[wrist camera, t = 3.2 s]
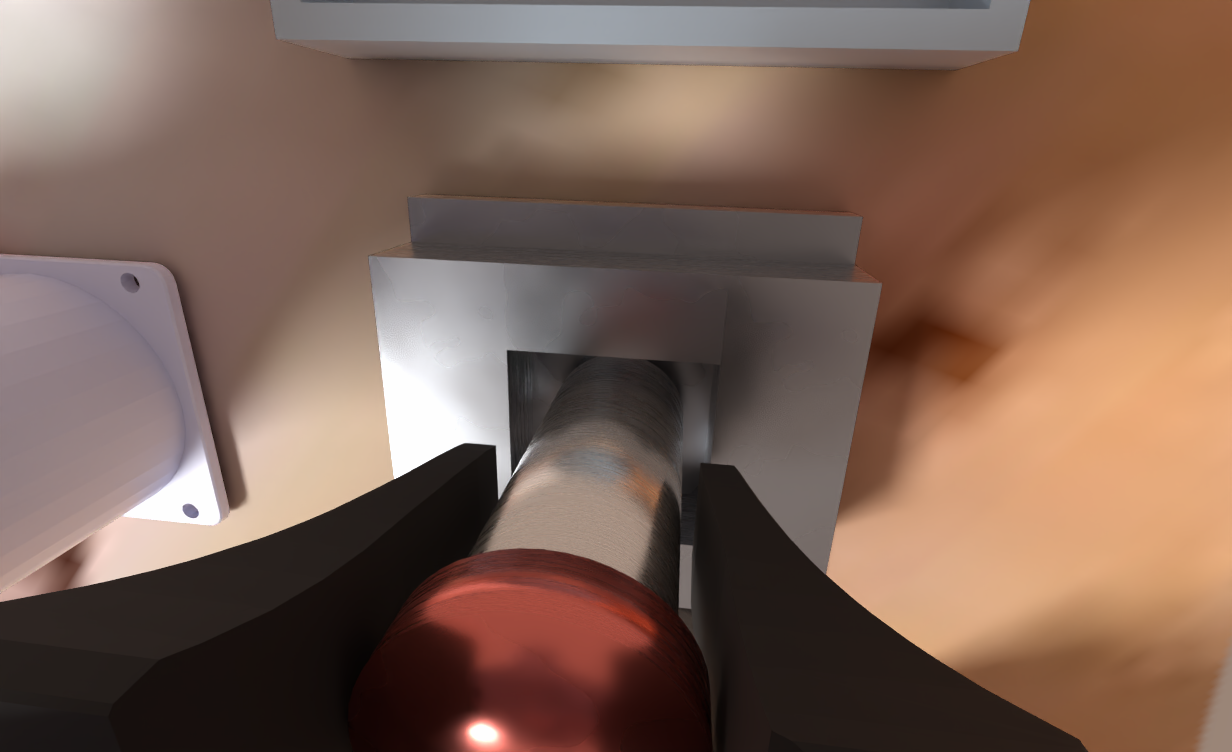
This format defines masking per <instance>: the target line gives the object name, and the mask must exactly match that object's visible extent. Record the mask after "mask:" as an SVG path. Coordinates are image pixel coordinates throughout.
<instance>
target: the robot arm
mask: <svg viewBox="0 0 1232 752" xmlns="http://www.w3.org/2000/svg"><path fill="white" fill-rule="evenodd" d="M134 276H135V277H136V278H137V280H138V282H139V286H138V285H137V284H136V283H135V281H134ZM498 501H499V500H498V479H497V457H496V445H486V444H474V443H463V444H461V445H458V446H456V447H454V448H452V449H450V450H448V451H446V452H444V453H442V454H440V455H438V456H436V457H434V458H433V459H431V460H429V461H427V462H425V463H423V464H422V465H420V466H418V467H416V468H414V469H412V470H410V471H409V472H407V473H405V474H403V475H401V476H399V477H397V478H395V479H394V480H392V481H390V482H388V483H386V484H384V485H382V486H380V487H378V488H376V489H374V490H372V491H370V492H368V493H366V494H364V495H362V496H360V497H358V498H356V499H354V500H352V501H350V502H347V503H345V504H343V505H341V506H339V507H337V508H335V509H333V510H331V511H328V512H326V513H324V514H322V515H319V516H317V517H315V518H312V519H310V520H307V521H305V522H303V523H300V524H297V525H295V526H292V527H290V528H287V529H284V530H282V531H279V532H277V533H274V534H271V535H269V536H266V537H263V538H260V539H257V540H254V541H251V542H248V543H245V544H242V545H238V546H235V547H232V548H229V549H226V550H223V551H220V552H216V553H213V554H210V555H207V556H204V557H201V558H198V559H194V560H191V561H187V562H183V563H180V564H176V565H172V566H168V567H165V568H161V569H157V570H153V571H149V572H145V573H141V574H137V575H133V576H128V577H124V578H120V579H116V580H112V581H107V582H102V583H98V584H93V585H89V586H84V587H79V588H73V589H68V590H63V591H57V592H52V593H47V594H41V595H36V596H31V597H25V598H20V599H14V600H9V601H4V602H0V752H353V749H352V745H351V742H350V738H349V729H348V709H349V702H350V698H351V694H352V690H353V687H354V685H355V683H356V681H357V679H358V677H359V675H360V673H361V671H362V670H363V668H364V666H365V665H366V663H367V662H368V660H369V658H370V657H371V655H372V654H373V652H374V651H375V649H376V647H377V646H378V644H379V643H380V641H381V639H382V638H383V636H384V635H385V633H386V632H387V630H388V628H389V627H390V625H391V624H392V622H393V620H394V619H395V617H396V616H397V614H398V613H399V611H400V609H401V608H402V606H403V605H404V603H405V602H406V601H407V599H408V598H409V596H410V595H411V594H412V592H413V591H414V590H415V589H416V588H417V587H418V586H419V585H420V584H421V583H422V582H423V581H425V580H426V579H427V578H428V577H430V576H431V575H433V574H434V573H436V572H437V571H438V570H440V569H442V568H444V567H446V566H448V565H450V564H452V563H454V562H456V561H458V560H461V559H464V558H467V557H468V555H469V554H470V552H471V550H472V548H473V546H474V544H475V543H476V541H477V539H478V537H479V535H480V533H481V532H482V530H483V528H484V526H485V524H486V522H487V521H488V519H489V517H490V515H491V513H492V512H493V510H494V508H495V506H496V504H497V502H498ZM229 513H230V508H229V503H228V499H227V495H226V491H225V487H224V482H223V478H222V474H221V470H220V465H219V461H218V457H217V453H216V449H215V444H214V440H213V436H212V432H211V428H210V423H209V419H208V415H207V411H206V407H205V402H204V398H203V394H202V390H201V385H200V381H199V377H198V373H197V369H196V364H195V360H194V356H193V352H192V348H191V343H190V339H189V335H188V331H187V327H186V322H185V318H184V314H183V310H182V305H181V301H180V297H179V293H178V289H177V284H176V281H175V279H174V276H173V275H172V273H171V272H170V271H169V270H168V269H167V268H166V267H164V266H163V265H161V264H158V263H154V262H136V261H118V260H101V259H83V258H65V257H48V256H30V255H13V254H0V594H1V593H2V592H4V591H5V590H7V589H8V588H10V587H11V586H13V585H15V584H16V583H18V582H19V581H21V580H22V579H24V578H25V577H27V576H29V575H30V574H32V573H33V572H35V571H36V570H38V569H40V568H41V567H43V566H44V565H46V564H47V563H49V562H50V561H52V560H54V559H55V558H57V557H58V556H60V555H61V554H63V553H64V552H66V551H68V550H69V549H71V548H72V547H74V546H75V545H77V544H79V543H80V542H82V541H83V540H85V539H86V538H88V537H89V536H91V535H93V534H94V533H96V532H97V531H99V530H100V529H102V528H103V527H105V526H107V525H108V524H110V523H111V522H113V521H114V520H116V519H118V518H119V517H121V516H124V517H133V518H143V519H153V520H163V521H172V522H182V523H192V524H201V525H217V524H219V523H220V522H222V521H223V520H224V519H225V518H227V517H228V515H229ZM691 612H692V623H693V634H694V638H695V640H696V642H697V644H698V646H699V648H700V650H701V652H702V654H703V657H704V660H705V663H706V666H707V669H708V675H709V682H710V694H711V721H712V748H713V752H1088V751H1087V749H1086V748H1085V747H1084V745H1083V744H1082V743H1081V741H1080V740H1079V739H1077V738H1075V737H1073V736H1071V735H1069V734H1068V733H1066V732H1064V731H1062V730H1060V729H1058V728H1056V727H1055V726H1053V725H1051V724H1049V723H1047V722H1045V721H1043V720H1041V719H1040V718H1038V717H1036V716H1034V715H1032V714H1030V713H1028V712H1027V711H1025V710H1023V709H1021V708H1019V707H1017V706H1015V705H1013V704H1012V703H1010V702H1008V701H1006V700H1004V699H1002V698H1000V697H999V696H997V695H995V694H993V693H991V692H989V691H988V690H986V689H984V688H982V687H981V686H979V685H977V684H976V683H974V682H972V681H971V680H969V679H968V678H966V677H964V676H963V675H961V674H960V673H958V672H956V671H955V670H953V669H951V668H950V667H948V666H947V665H945V664H943V663H942V662H940V661H939V660H937V659H935V658H934V657H932V656H931V655H929V654H928V653H926V652H925V651H923V650H922V649H920V648H919V647H917V646H916V645H914V644H913V643H911V642H910V641H908V640H907V639H906V638H904V637H903V636H901V635H900V634H899V633H897V632H896V631H895V630H893V629H892V628H891V627H889V626H888V625H887V624H885V623H884V622H882V621H881V620H880V619H878V618H877V617H876V616H874V615H873V614H872V613H870V612H869V611H868V610H867V609H865V608H864V607H863V606H862V605H860V604H859V603H858V602H857V601H855V600H854V599H853V598H852V597H851V596H849V595H848V594H847V593H846V592H845V591H844V590H843V589H841V588H840V587H839V586H838V585H837V584H836V583H835V582H833V581H832V580H831V579H830V578H829V577H828V576H827V575H826V574H824V573H823V572H822V571H821V570H820V569H819V568H818V567H817V566H816V565H815V564H814V563H813V562H812V561H811V560H810V559H809V558H808V557H807V556H806V555H805V554H804V553H803V552H802V551H801V550H800V549H799V547H798V546H797V545H796V544H795V543H794V542H793V541H792V540H791V539H790V538H789V536H788V535H787V534H786V533H785V532H784V531H783V529H782V528H781V527H780V526H779V524H778V523H777V522H776V521H775V519H774V518H773V517H772V516H771V515H770V513H769V512H768V511H767V509H766V508H765V507H764V506H763V504H762V503H761V502H760V500H759V499H758V497H757V496H756V495H755V493H754V492H753V491H752V489H751V488H750V486H749V485H748V483H747V482H746V481H745V479H744V478H743V476H742V475H741V473H740V472H739V471H738V469H737V468H736V467H735V466H734V465H723V464H711V463H700V474H699V484H698V495H697V506H696V516H695V527H694V538H693V548H692V570H691Z"/></svg>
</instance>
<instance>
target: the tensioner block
mask: <svg viewBox="0 0 1232 752" xmlns="http://www.w3.org/2000/svg"><path fill="white" fill-rule="evenodd" d="M407 198H408V209H409V220H410V231H411V242H410V243H407V244H403V245H400V246H397V247H394V248H391V249H388V250H385V251H382V252H379V253H376V254H373V255H370V256H368V259H369V268H370V276H371V285H372V293H373V302H374V310H375V319H376V327H377V336H378V344H379V353H380V361H381V370H382V378H383V386H384V395H385V403H386V412H387V420H388V429H389V437H390V446H391V454H392V463H393V471H394V479H395V478H397V477H399V476H401V475H403V474H405V473H407V472H409V471H410V470H412V469H414V468H416V467H418V466H420V465H422V464H423V463H425V462H427V461H429V460H431V459H433V458H434V457H436V456H438V455H440V454H442V453H444V452H446V451H448V450H450V449H452V448H454V447H456V446H458V445H461V444H463V443H474V444H486V445H496V457H497V479H498V500H499V499H500V497H501V495H502V493H503V491H504V490H505V488H506V486H507V484H508V482H509V481H510V479H511V477H512V475H513V473H514V471H515V470H516V468H517V466H518V464H519V462H520V460H521V459H522V457H523V455H524V453H525V451H526V449H527V448H528V446H529V444H530V442H531V440H532V439H533V437H534V435H535V433H536V431H537V429H538V428H539V426H540V424H541V422H542V420H543V418H544V417H545V415H546V413H547V411H548V409H549V408H550V406H551V404H552V402H553V400H554V398H555V397H556V395H557V393H558V391H559V389H560V387H561V386H562V384H563V382H564V380H565V379H566V378H567V376H568V375H569V374H570V373H571V372H572V371H573V370H574V369H575V368H576V367H578V366H579V365H580V364H582V363H584V362H585V361H587V360H589V359H592V358H594V357H597V356H602V357H617V358H632V359H644V360H647V361H649V362H650V363H652V364H654V365H655V366H657V367H658V368H660V369H661V370H662V371H663V372H664V373H665V374H666V375H667V376H668V377H669V378H670V379H671V380H672V382H673V383H674V385H675V386H676V388H677V390H678V392H679V394H680V397H681V400H682V404H683V411H684V422H683V461H682V501H681V540H680V579H679V617H680V618H681V619H682V620H683V622H684V623H685V625H686V626H687V627H688V629H689V630H690V632H691V633H692V635H693V636H694V634H693V623H692V612H691V570H692V548H693V538H694V527H695V516H696V506H697V495H698V484H699V474H700V463H711V464H723V465H734V466H735V467H736V468H737V469H738V471H739V472H740V473H741V475H742V476H743V478H744V479H745V481H746V482H747V483H748V485H749V486H750V488H751V489H752V491H753V492H754V493H755V495H756V496H757V497H758V499H759V500H760V502H761V503H762V504H763V506H764V507H765V508H766V509H767V511H768V512H769V513H770V515H771V516H772V517H773V518H774V519H775V521H776V522H777V523H778V524H779V526H780V527H781V528H782V529H783V531H784V532H785V533H786V534H787V535H788V536H789V538H790V539H791V540H792V541H793V542H794V543H795V544H796V545H797V546H798V547H799V549H800V550H801V551H802V552H803V553H804V554H805V555H806V556H807V557H808V558H809V559H810V560H811V561H812V562H813V563H814V564H815V565H816V566H817V567H818V568H819V569H820V570H821V571H822V572H823V573H824V574H826V571H827V566H828V561H829V556H830V550H831V545H832V540H833V535H834V530H835V525H836V520H837V514H838V509H839V504H840V499H841V494H842V489H843V484H844V479H845V473H846V468H847V463H848V458H849V453H850V448H851V443H852V437H853V432H854V427H855V422H856V417H857V412H858V407H859V402H860V396H861V391H862V386H863V381H864V376H865V371H866V366H867V360H868V355H869V350H870V345H871V340H872V335H873V330H874V325H875V319H876V314H877V309H878V304H879V299H880V294H881V289H882V283H881V282H880V281H878V280H877V279H875V278H874V277H872V276H871V275H869V274H868V273H866V272H865V271H864V270H862V269H861V268H859V267H858V266H856V265H855V259H856V253H857V248H858V242H859V236H860V231H861V225H862V219H863V217H862V216H860V215H857V214H854V213H852V212H834V211H810V210H786V209H763V208H739V207H716V206H692V205H668V204H645V203H621V202H598V201H574V200H551V199H527V198H503V197H480V196H456V195H433V194H424V195H418V196H412V197H407Z"/></svg>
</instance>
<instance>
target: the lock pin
mask: <svg viewBox="0 0 1232 752" xmlns="http://www.w3.org/2000/svg"><path fill="white" fill-rule="evenodd" d="M683 422H684V411H683V404H682V400H681V397H680V394H679V392H678V390H677V388H676V386H675V385H674V383H673V382H672V380H671V379H670V378H669V377H668V376H667V375H666V374H665V373H664V372H663V371H662V370H661V369H660V368H658V367H657V366H655V365H654V364H652V363H650V362H649V361H647V360H644V359H632V358H617V357H602V356H597V357H594V358H592V359H589V360H587V361H585V362H584V363H582V364H580V365H579V366H578V367H576V368H575V369H574V370H573V371H572V372H571V373H570V374H569V375H568V376H567V378H566V379H565V380H564V382H563V384H562V386H561V387H560V389H559V391H558V393H557V395H556V397H555V398H554V400H553V402H552V404H551V406H550V408H549V409H548V411H547V413H546V415H545V417H544V418H543V420H542V422H541V424H540V426H539V428H538V429H537V431H536V433H535V435H534V437H533V439H532V440H531V442H530V444H529V446H528V448H527V449H526V451H525V453H524V455H523V457H522V459H521V460H520V462H519V464H518V466H517V468H516V470H515V471H514V473H513V475H512V477H511V479H510V481H509V482H508V484H507V486H506V488H505V490H504V491H503V493H502V495H501V497H500V499H499V501H498V502H497V504H496V506H495V508H494V510H493V512H492V513H491V515H490V517H489V519H488V521H487V522H486V524H485V526H484V528H483V530H482V532H481V533H480V535H479V537H478V539H477V541H476V543H475V544H474V546H473V548H472V550H471V552H470V554H469V555H468V557H467V558H464V559H461V560H458V561H456V562H454V563H452V564H450V565H448V566H446V567H444V568H442V569H440V570H438V571H437V572H436V573H434V574H433V575H431V576H430V577H428V578H427V579H426V580H425V581H423V582H422V583H421V584H420V585H419V586H418V587H417V588H416V589H415V590H414V591H413V592H412V594H411V595H410V596H409V598H408V599H407V601H406V602H405V603H404V605H403V606H402V608H401V609H400V611H399V613H398V614H397V616H396V617H395V619H394V620H393V622H392V624H391V625H390V627H389V628H388V630H387V632H386V633H385V635H384V636H383V638H382V639H381V641H380V643H379V644H378V646H377V647H376V649H375V651H374V652H373V654H372V655H371V657H370V658H369V660H368V662H367V663H366V665H365V666H364V668H363V670H362V671H361V673H360V675H359V677H358V679H357V681H356V683H355V685H354V687H353V690H352V694H351V698H350V702H349V709H348V729H349V738H350V742H351V745H352V749H353V752H713V748H712V721H711V694H710V682H709V675H708V669H707V666H706V663H705V660H704V657H703V654H702V652H701V650H700V648H699V646H698V644H697V642H696V640H695V638H694V636H693V635H692V633H691V632H690V630H689V629H688V627H687V626H686V625H685V623H684V622H683V620H682V619H681V618H680V617H679V579H680V540H681V501H682V461H683Z"/></svg>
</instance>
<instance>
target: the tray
mask: <svg viewBox="0 0 1232 752" xmlns="http://www.w3.org/2000/svg"><path fill="white" fill-rule="evenodd" d="M270 3H271V9H272V16H273V22H274V29H275V35H276V39H278V40H281V41H285V42H289V43H292V44H296V45H300V46H303V47H307V48H311V49H314V50H318V51H322V52H326V53H329V54H333V55H337V56H340V57H344V58H351V59H402V60H454V61H505V62H557V63H608V64H660V65H711V66H763V67H814V68H866V69H917V70H958V69H961V68H965V67H968V66H971V65H974V64H978V63H981V62H984V61H987V60H991V59H994V58H997V57H1001V56H1004V55H1007V54H1010V53H1014V52H1017V51H1018V49H1019V45H1020V41H1021V37H1022V33H1023V29H1024V25H1025V20H1026V16H1027V12H1028V8H1029V4H1030V0H270Z"/></svg>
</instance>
